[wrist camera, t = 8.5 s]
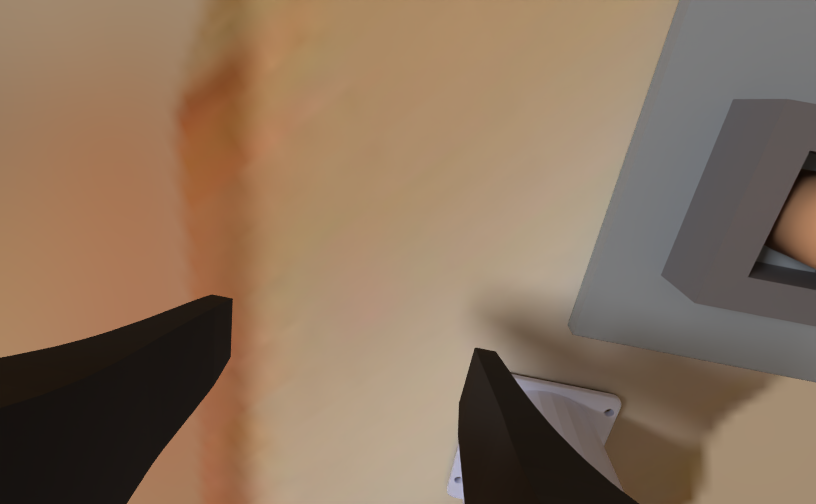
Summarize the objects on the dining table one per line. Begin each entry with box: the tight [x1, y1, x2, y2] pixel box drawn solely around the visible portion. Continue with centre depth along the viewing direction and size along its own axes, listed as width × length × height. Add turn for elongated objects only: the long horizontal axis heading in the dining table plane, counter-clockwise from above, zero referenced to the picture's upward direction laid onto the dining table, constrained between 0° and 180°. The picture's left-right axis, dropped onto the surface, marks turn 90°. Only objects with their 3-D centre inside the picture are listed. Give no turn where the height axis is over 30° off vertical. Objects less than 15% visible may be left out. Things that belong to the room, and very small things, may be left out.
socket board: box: [568, 0, 816, 382], centre depth 18 cm, size 16×14×4 cm
